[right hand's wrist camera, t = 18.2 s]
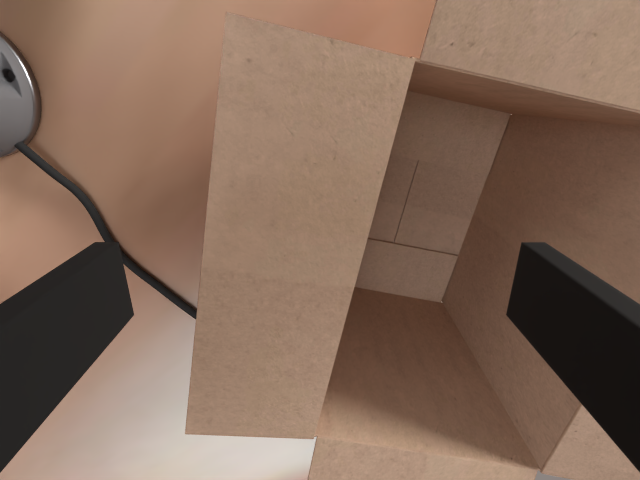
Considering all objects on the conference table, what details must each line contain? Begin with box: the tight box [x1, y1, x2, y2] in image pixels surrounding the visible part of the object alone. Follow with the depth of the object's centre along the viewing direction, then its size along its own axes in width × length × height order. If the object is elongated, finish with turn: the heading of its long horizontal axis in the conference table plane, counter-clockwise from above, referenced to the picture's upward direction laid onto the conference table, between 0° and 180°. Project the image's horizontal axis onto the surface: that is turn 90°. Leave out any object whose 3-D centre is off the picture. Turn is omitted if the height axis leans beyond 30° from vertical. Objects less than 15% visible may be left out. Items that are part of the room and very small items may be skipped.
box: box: [185, 0, 640, 480], centre depth 34 cm, size 44×36×27 cm
